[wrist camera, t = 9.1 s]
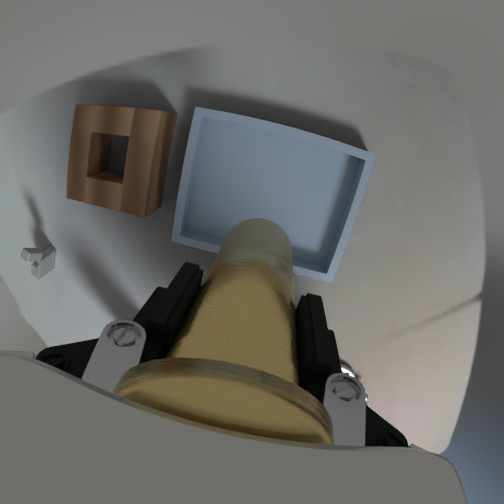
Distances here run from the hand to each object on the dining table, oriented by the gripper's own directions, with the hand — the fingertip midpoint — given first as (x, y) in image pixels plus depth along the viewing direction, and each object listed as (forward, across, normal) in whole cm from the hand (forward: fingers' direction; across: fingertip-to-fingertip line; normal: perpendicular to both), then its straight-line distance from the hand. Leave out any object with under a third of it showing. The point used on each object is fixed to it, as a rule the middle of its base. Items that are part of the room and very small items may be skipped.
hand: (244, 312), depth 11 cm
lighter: (+24, +33, +17) cm, 44 cm away
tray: (+24, 0, 0) cm, 24 cm away
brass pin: (+6, 0, 0) cm, 6 cm away
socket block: (+24, +19, -1) cm, 31 cm away
